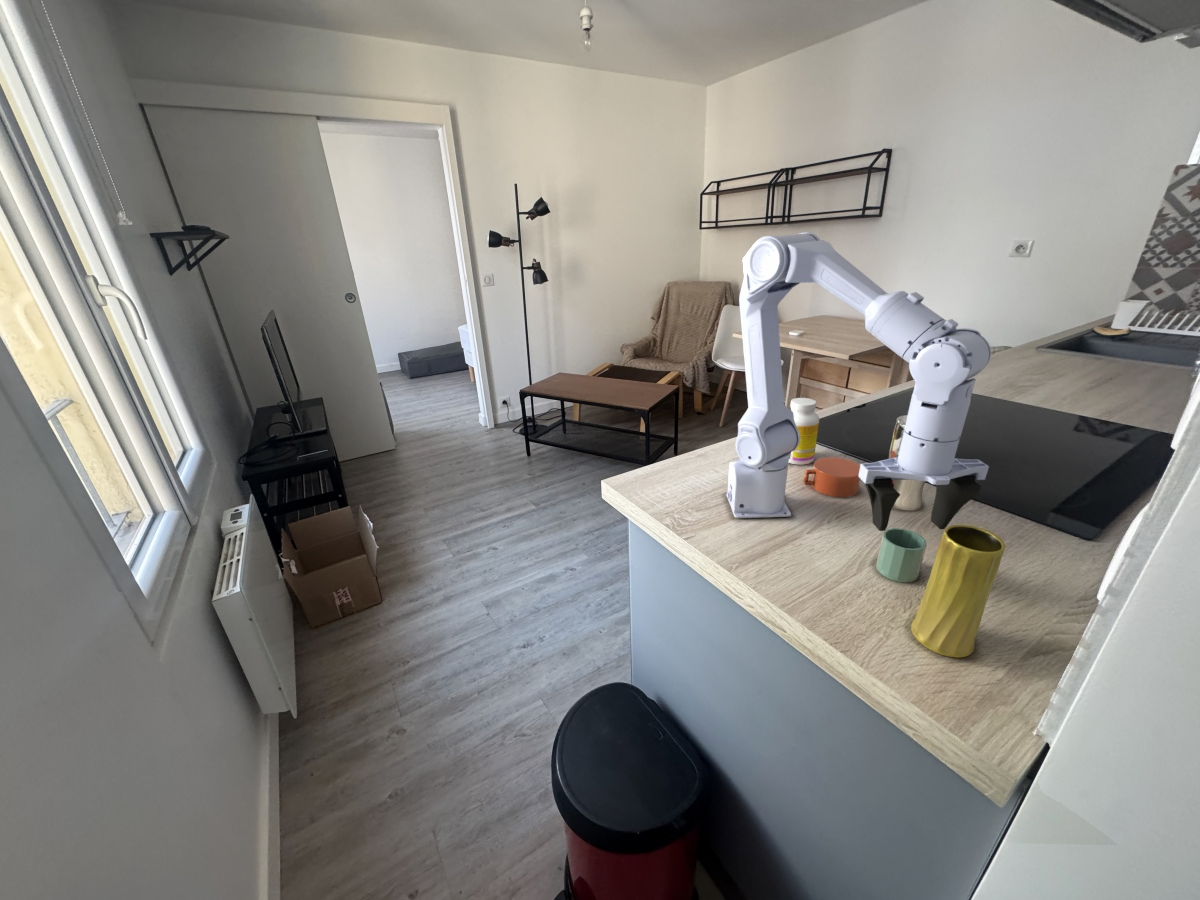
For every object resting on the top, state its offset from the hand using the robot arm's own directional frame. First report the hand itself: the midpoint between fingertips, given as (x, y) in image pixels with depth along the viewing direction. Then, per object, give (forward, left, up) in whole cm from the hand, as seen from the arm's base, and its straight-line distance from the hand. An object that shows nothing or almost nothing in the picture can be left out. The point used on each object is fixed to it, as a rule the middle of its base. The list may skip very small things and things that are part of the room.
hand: (908, 525), depth 63 cm
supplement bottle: (-2, +36, -8) cm, 37 cm away
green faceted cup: (0, 0, -8) cm, 8 cm away
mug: (+1, +24, -8) cm, 25 cm away
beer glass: (+10, +18, -8) cm, 22 cm away
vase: (-1, -12, -8) cm, 14 cm away
